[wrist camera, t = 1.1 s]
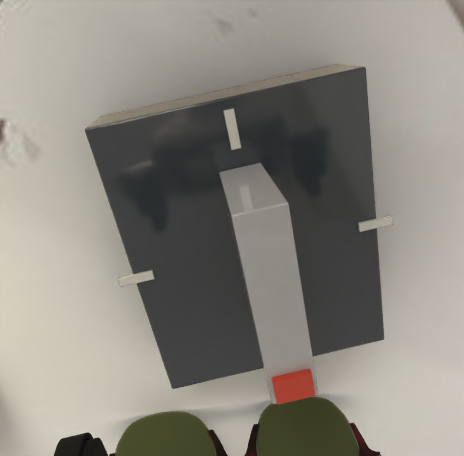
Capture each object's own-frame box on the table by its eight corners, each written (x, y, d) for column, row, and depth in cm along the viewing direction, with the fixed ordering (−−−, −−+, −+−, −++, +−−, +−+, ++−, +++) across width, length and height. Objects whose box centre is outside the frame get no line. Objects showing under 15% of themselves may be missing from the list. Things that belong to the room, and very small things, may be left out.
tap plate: (85, 119, 17) (65, 133, 14) (351, 60, 18) (385, 62, 15) (162, 350, 22) (159, 395, 19) (371, 301, 22) (399, 339, 19)
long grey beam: (218, 171, 16) (232, 218, 11) (260, 162, 16) (290, 205, 11) (252, 325, 18) (273, 410, 14) (288, 317, 18) (320, 399, 14)
